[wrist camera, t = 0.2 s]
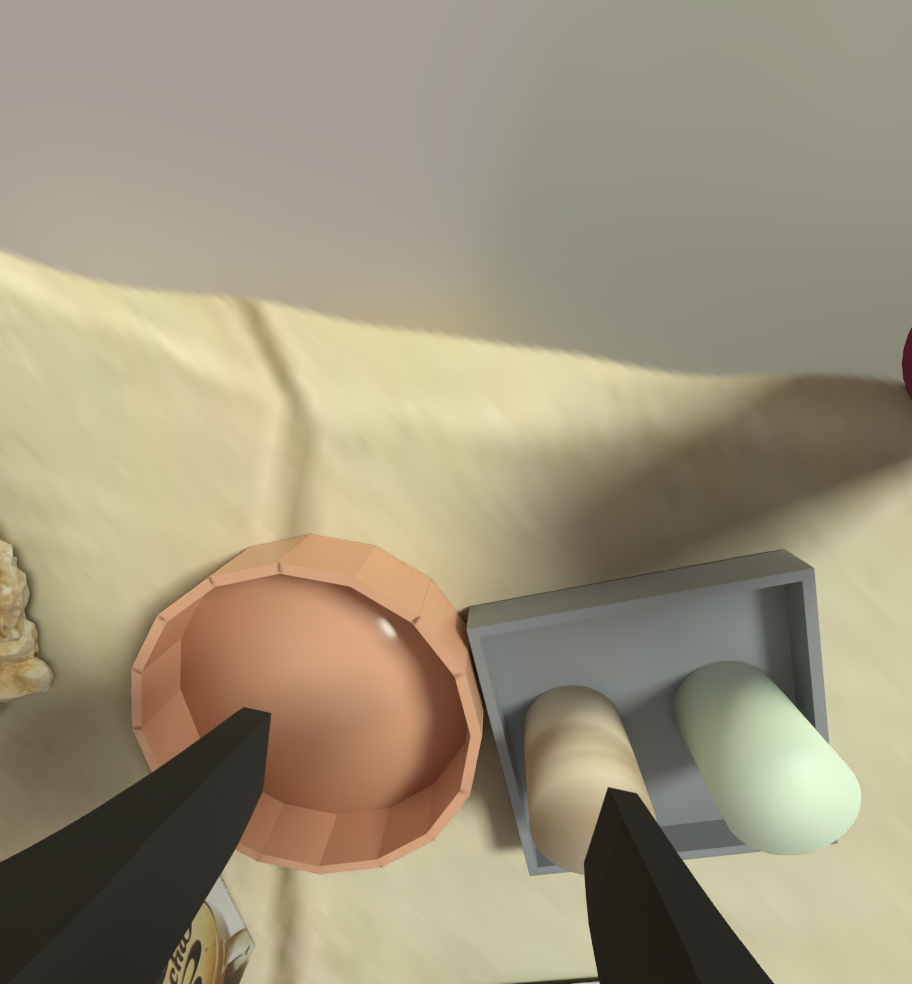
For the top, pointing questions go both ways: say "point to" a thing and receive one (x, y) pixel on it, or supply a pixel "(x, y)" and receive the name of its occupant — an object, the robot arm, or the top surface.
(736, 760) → the mint green rounded cylinder
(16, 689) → the mineral formation
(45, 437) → the top surface
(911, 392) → the cup
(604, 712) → the beige rounded cylinder
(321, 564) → the bowl
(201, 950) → the coffee box
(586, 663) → the tray
